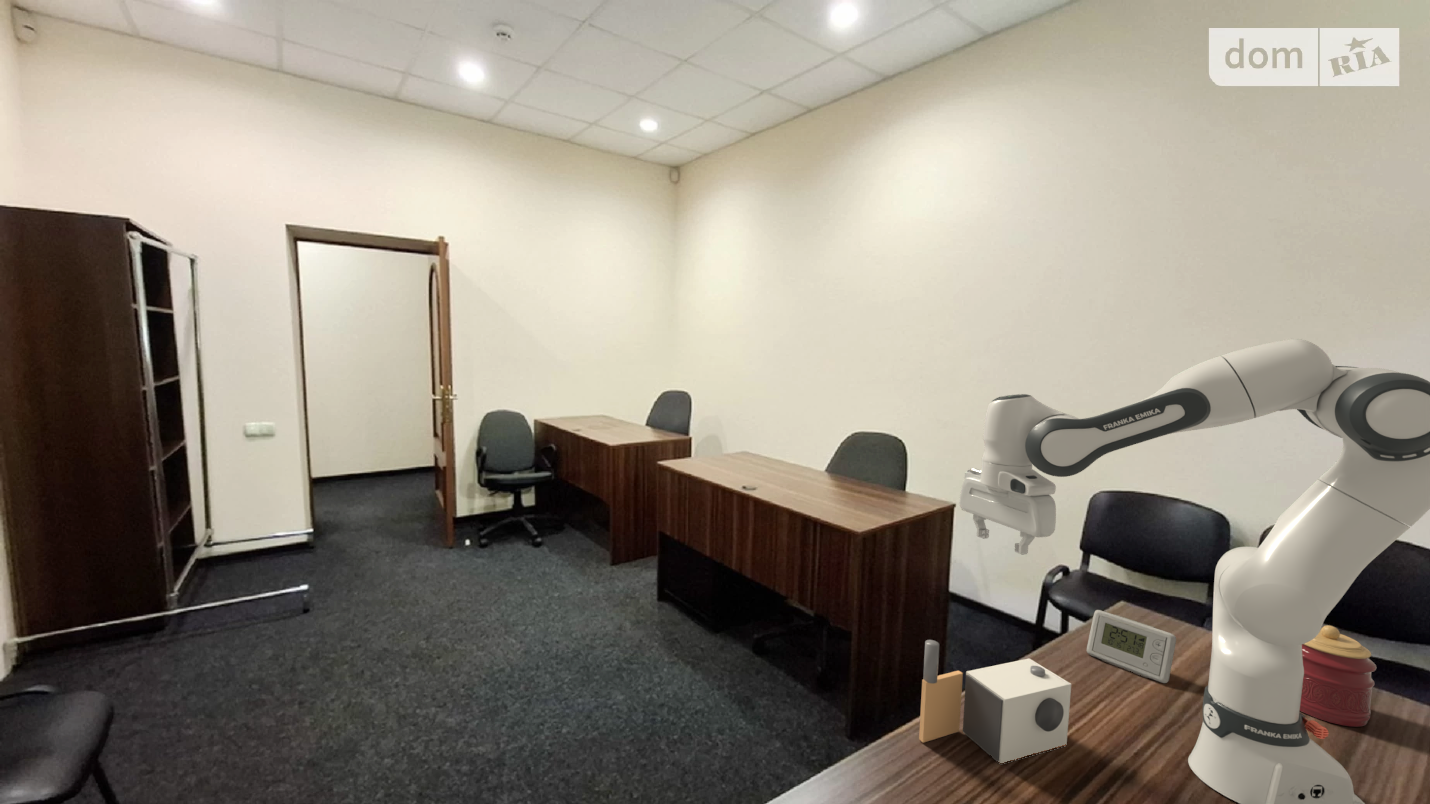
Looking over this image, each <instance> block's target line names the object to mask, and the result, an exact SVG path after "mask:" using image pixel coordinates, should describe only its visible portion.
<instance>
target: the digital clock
mask: <svg viewBox="0 0 1430 804" xmlns="http://www.w3.org/2000/svg"><path fill="white" fill-rule="evenodd" d="M1176 644H1177V637H1176V635H1174V634H1173V633H1171V632H1169V631H1165V630H1162V629H1159V628H1156V627H1155V626H1152V625H1149V624H1146V623H1143V622H1139V621H1136V620H1134V619H1131V618H1127V617H1124V616H1121V615H1118V614H1113V613H1109V612H1106V611H1103V610H1101V609H1096V610H1095V611H1094V613H1093V617H1092V621H1091V627H1090V631H1089V635H1088V641H1087V645H1086V653H1087V654H1088V655H1090V656H1092V657H1094V658H1095V659H1096V658H1097V659H1099V660H1101V661H1102V662H1104V663H1107V664H1109V665H1112V666H1115V667H1117V668H1120V669H1122V668H1124V669H1123V670H1125V671H1128V672H1130V671H1131V672H1130V673H1132V672H1133V674H1135V675H1138V676H1140V675H1141V677H1143V678H1146V679H1148V678H1149V679H1150V680H1154V681H1156V682H1159V683H1162V684H1167V683H1168V682H1169V681H1170V676H1171V669H1172V665H1173V659H1174V655H1175V654H1174V653H1175V650H1176V649H1175V648H1176Z"/></svg>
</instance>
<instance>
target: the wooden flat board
mask: <svg viewBox="0 0 1430 804" xmlns="http://www.w3.org/2000/svg"><path fill="white" fill-rule="evenodd" d="M923 657H924V658H923V677H922V678H923V679H921V695H920V696H921V699H920V716H919V733H918V734H919V735H918V740H919V741H920V742H921V743H926V742H927V743H928V742H929V741H933V740H936V739H939V738H942V737H946V736H948V735H952V734H956V733H959V732H960V726H961V725H960V724H961V710H962V694H963V692H962V691H963V679H964V678H963V677H964V676H963V675H964V672H962V671H960V670H954V671H951V672H948V673H943V674H939V675H938V673H939V658H940V643H939V642H938V641H936V640H933V639H927V640H926V639H925V641H924V656H923Z"/></svg>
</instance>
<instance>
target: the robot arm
mask: <svg viewBox="0 0 1430 804" xmlns="http://www.w3.org/2000/svg"><path fill="white" fill-rule="evenodd" d="M1288 410H1290V411H1291V410H1297V412H1299V413H1300V414H1301V415H1302V416H1303V417H1304V419H1306V420H1307V421H1308V422H1310V423H1311V424H1313V425H1314V426H1316V427H1317V428H1319V429H1322V430H1324V431H1326V432H1328V433H1330V434H1332V435H1334V436H1336V437H1338V438H1341V439H1342V444H1343V445H1342V449H1341V452H1340V454H1339V456H1338V458H1337V460H1336V461H1335V463H1334V464H1333V465H1331V467H1329V469H1328V468H1327V470H1326V471H1325V472H1324V473H1323V474H1322V475H1321V476H1319V477H1318V478H1317V479H1316V480H1315V481H1314V483H1312V484H1311V485H1310V486H1309V487H1308V488H1307V489H1306V490H1304V491H1303V493H1302V494H1301V495H1300V496H1299V497H1298V498H1296V500H1294V501H1293V502H1292V503H1291V504H1290V505H1289V506H1288V507H1287V508H1286V509H1284V511H1283V512H1282V513H1281V514H1280V515H1279V516H1278V517H1277V519H1276V522H1275V524H1274V526H1273V527H1272V529H1271V530H1270V531H1269V533H1268V534H1267V535H1266V536H1265V538H1264V540H1263V541H1262V542H1261V544H1260V545H1258V547H1255V546H1239V547H1234V548H1232V549H1230V550H1228V551H1225V553H1224V554H1223V555H1222V556H1221V557H1220V559H1219V560H1218V561H1217V564H1216V565H1215V570H1214V580H1213V581H1214V582H1213V599H1212V600H1213V602H1212V603H1213V604H1212V635H1211V636H1212V639H1211V640H1212V641H1211V643H1212V644H1211V657H1210V664H1209V665H1210V666H1209V675H1208V676H1209V677H1208V685H1206V686H1204V687H1205V688H1204V691H1203V698H1202V699H1203V700H1202V723H1201V724H1202V725H1201V728H1200V731H1199V734H1198V738H1197V740H1196V743H1195V744H1194V747H1193V749H1192V750H1191V753H1190V754H1189V756H1188V758H1187V761H1188V765H1189V768H1190V769H1191V770H1192V772H1193V773H1194V774H1195V775H1196V777H1197V778H1198V779H1200V780H1201V781H1202V782H1203V783H1204V784H1206V785H1207V786H1208V787H1210V788H1211V789H1213V790H1214V791H1216V792H1218V793H1220V794H1221V795H1223V796H1224V797H1226V798H1228V799H1230V800H1232V801H1234V802H1236V803H1238V804H1366V803H1365V802H1364V801H1363V800H1362V799H1361V798H1360V797H1358V795H1356V794H1355V792H1354V785H1353V781H1352V778H1351V776H1350V774H1349V773H1348V771H1347V770H1346V768H1344V766H1343V765H1342V764H1341V763H1340V762H1339V761H1338V760H1337V759H1336V758H1334V757H1333V756H1332V755H1330V754H1329V753H1328V752H1327V751H1326V750H1325V749H1324V748H1322V747H1321V746H1320V745H1319V744H1318V743H1316V742H1315V741H1314V740H1313V739H1311V738H1310V736H1309V733H1311V734H1312V735H1314V736H1315V738H1317V739H1320V740H1325V739H1326V738H1328V737H1329V734H1330V733H1329V730H1328V728H1326V727H1325V726H1324V725H1321V724H1320V723H1319V722H1317V721H1316V720H1314V719H1312V720H1309V719H1307V718H1306V716H1305V715H1304V714H1303V713H1302V712H1301V711H1300V703H1301V694H1302V685H1303V677H1304V667H1303V658H1302V644H1305V643H1307V642H1309V641H1311V640H1312V639H1314V638H1315V637H1316V636H1317V635H1318V633H1319V632H1320V630H1321V629H1322V627H1323V624H1324V622H1325V620H1326V618H1327V616H1329V614H1330V613H1331V611H1332V610H1333V609H1334V608H1335V607H1336V605H1337V604H1338V603H1339V602H1340V601H1341V600H1342V598H1343V596H1344V595H1345V594H1346V593H1347V591H1348V590H1349V589H1350V587H1351V586H1352V584H1353V583H1354V582H1355V580H1356V579H1357V577H1359V575H1360V574H1361V573H1362V571H1363V570H1364V569H1365V568H1366V567H1367V566H1368V565H1369V564H1370V563H1372V561H1374V560H1375V559H1376V557H1378V556H1379V555H1380V554H1381V553H1383V552H1384V551H1385V550H1386V549H1387V548H1388V547H1390V546H1391V545H1392V544H1393V543H1394V542H1395V541H1396V540H1397V539H1399V538H1400V537H1401V536H1402V535H1403V534H1405V533H1406V531H1408V530H1409V529H1410V528H1411V527H1412V526H1413V525H1415V524H1416V522H1418V521H1419V520H1420V519H1421V518H1423V516H1424V515H1426V513H1428V511H1429V510H1430V381H1428V380H1427V379H1426V378H1423V377H1420V376H1418V375H1415V374H1411V373H1410V374H1409V373H1406V372H1405V373H1404V372H1399V371H1397V370H1396V371H1395V370H1391V369H1386V368H1380V367H1379V368H1378V367H1357V366H1349V365H1348V366H1346V365H1345V366H1344V365H1335V364H1333V362H1332V360H1331V359H1330V357H1329V355H1328V354H1327V353H1326V352H1325V351H1324V350H1323V348H1321V347H1319V346H1318V345H1317V344H1314V343H1313V342H1312V341H1308V340H1305V339H1303V338H1301V339H1299V338H1291V339H1289V338H1288V339H1284V340H1276V341H1272V342H1266V343H1261V344H1258V345H1254V346H1248V347H1245V348H1241V349H1238V350H1234V351H1231V352H1228V353H1224V354H1222V355H1219V356H1215V357H1212V358H1209V359H1207V360H1204V361H1201V362H1200V363H1197V364H1194V365H1192V366H1190V367H1189V368H1186V369H1184V370H1182V371H1181V372H1179V373H1176V374H1175V375H1173V376H1171V377H1170V379H1169V380H1168V381H1167V382H1166V383H1165V384H1163V386H1162V387H1161V388H1159V389H1158V390H1157V391H1156V392H1154V393H1152V394H1151V395H1149V396H1147V397H1146V398H1143V399H1142V400H1138V401H1136V402H1134V403H1130V404H1127V405H1124V406H1121V407H1118V408H1115V409H1112V410H1109V411H1107V412H1103V413H1100V414H1097V415H1093V416H1092V417H1085V418H1078V417H1076V416H1074V415H1072V414H1068V413H1064V412H1062V411H1059V410H1056V409H1054V408H1052V407H1050V406H1048V405H1046V404H1044V403H1042V402H1040V401H1039V400H1037V399H1036V398H1035V397H1034V396H1033V395H1030V394H1026V393H1021V394H1020V393H1019V394H1011V395H1008V394H1007V395H1004V396H999V397H996V398H994V399H992V400H991V402H989V403H988V405H987V408H986V411H985V417H984V424H983V435H982V437H983V438H982V439H983V442H984V451H983V454H982V457H981V468H980V469H977V468H975V467H970V469H969V468H968V470H966V471H965V473H964V477H963V478H964V480H963V481H962V485H961V490H960V495H959V503H958V505H959V506H960V508H961V510H962V511H964V512H967V513H969V514H972V515H973V516H972V520H973V522H974V525H975V527H976V536H977V537H978V538H980V539H984V540H985V539H989V537H990V529H987V526H986V521H985V520H988V521H991V522H994V523H996V524H1000V525H1002V526H1006V527H1008V528H1010V529H1014V530H1016V531H1019V536H1020V538H1021V540H1020V541H1019V542H1016V543H1014V552H1015V553H1017V554H1019V555H1028V554H1029V546H1030V545H1031V543H1032V542H1033V541H1034V540H1035V538H1046V537H1050V536H1052V535H1053V534H1054V533H1055V530H1056V522H1057V521H1056V520H1057V519H1056V518H1057V513H1056V512H1057V507H1056V502H1055V499H1054V498H1053V497H1052V495H1054V494H1055V493H1056V491H1057V487H1056V484H1055V482H1053V481H1051V480H1049V479H1048V478H1046V477H1045V476H1043V475H1042V474H1040V473H1039V472H1038V471H1040V472H1041V473H1044V474H1046V475H1049V476H1052V477H1059V478H1062V477H1063V478H1064V477H1072V476H1074V475H1077V474H1079V473H1081V472H1083V471H1085V470H1086V469H1087V468H1088V467H1090V466H1091V465H1092V464H1093V463H1094V462H1096V461H1098V459H1099V458H1101V457H1103V456H1105V455H1107V454H1109V453H1111V452H1115V451H1118V450H1121V449H1125V448H1127V447H1130V446H1131V447H1132V446H1133V445H1137V444H1140V443H1143V442H1146V441H1151V440H1153V439H1157V438H1159V437H1164V436H1168V435H1171V434H1177V433H1182V432H1183V433H1184V432H1190V431H1197V430H1205V429H1211V428H1217V427H1218V428H1219V427H1222V426H1227V425H1228V426H1229V425H1233V424H1237V423H1243V422H1245V421H1250V420H1253V419H1256V418H1259V417H1264V416H1266V415H1269V414H1273V413H1276V412H1283V411H1288ZM1033 466H1034V467H1035V468H1036V469H1037V470H1038V471H1036V470H1035V469H1033ZM1308 732H1309V733H1308Z"/></svg>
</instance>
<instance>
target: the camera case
mask: <svg viewBox="0 0 1430 804" xmlns="http://www.w3.org/2000/svg"><path fill="white" fill-rule="evenodd" d="M1071 691H1072V683H1071V682H1069V681H1068V680H1065V679H1064V678H1062V677H1061V676H1059V675H1058V674H1056V673H1054V672H1052V671H1051V670H1050V669H1047V668H1046V667H1044V666H1042V665H1041V664H1039V663H1037V662H1036V661H1035V660H1033V659H1031V658H1024V659H1019V660H1015V661H1010V662H1005V663H1000V664H996V665H992V666H985V667H981V668H976V669H972V670H967V671H966V672H965V688H964V702H963V703H964V704H963V705H964V706H963V718H962V719H963V720H962V732H963V734H964V735H966V736H967V737H968V738H969V739H971V740H972V741H973V742H974V743H975V744H977V746H979V747H980V748H981V749H982V750H983V751H984V752H986V754H988V755H989V756H990V755H991V756H992V757H991V756H990V757H991V758H992V759H993V760H994V761H996V762H997V761H998V762H1000V763H1004V762H1007V761H1010V760H1014V759H1015V761H1017V760H1016V759H1017V758H1021V757H1024V756H1027V755H1031V754H1033V753H1038V752H1041V751H1044V750H1049V749H1052V748H1055V747H1058V746H1062V745H1065V744H1066V745H1067V742H1068V731H1069V718H1070V706H1071V693H1072V692H1071ZM998 762H997V763H998ZM1000 763H999V764H1000ZM1004 764H1005V763H1004Z"/></svg>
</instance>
